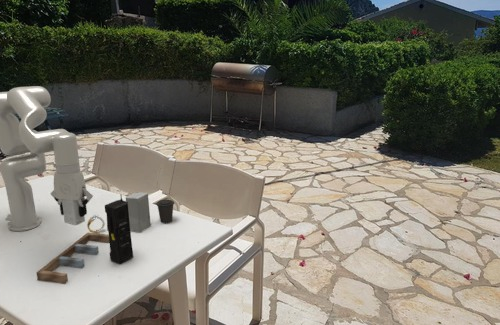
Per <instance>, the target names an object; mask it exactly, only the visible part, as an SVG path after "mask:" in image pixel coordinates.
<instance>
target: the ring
mask: <svg viewBox="0 0 500 325" xmlns="http://www.w3.org/2000/svg"><path fill="white" fill-rule="evenodd" d="M95 220H100V221H101V223H102V226H101V227H100V229H96V230H93V229H91V228H90V226H91V224H92V223H93V222H94V221H95ZM105 225H106V223H105V220H104V219H103V218H102V217H100V216H99V215H98V214H97V215H96V214H94V215H93V216H92V217H90V218H89V219H88V221H87V226H86V227H87V229H88V231H89V233H97V234H99V233H100V232H102V230H103V229H104V227H105Z"/></svg>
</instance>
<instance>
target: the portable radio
mask: <svg viewBox="0 0 500 325" xmlns="http://www.w3.org/2000/svg"><path fill="white" fill-rule="evenodd" d="M104 212H105V214H106V229H107V233H108V235H109V243H108V244H109V259H110V261H112V262H113V263H116V264H118V265H120V264H123V263H124V262H126V261H128V260H130V259H131V258H133V257H134V251H133V250H134V249H133V243H132V242H133V241H132V235H131V231H130V222H129V211H128V202H126V200H123V198H122V195H120V199H117V200H115V201H112V202H109V203H107V204H104Z"/></svg>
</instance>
